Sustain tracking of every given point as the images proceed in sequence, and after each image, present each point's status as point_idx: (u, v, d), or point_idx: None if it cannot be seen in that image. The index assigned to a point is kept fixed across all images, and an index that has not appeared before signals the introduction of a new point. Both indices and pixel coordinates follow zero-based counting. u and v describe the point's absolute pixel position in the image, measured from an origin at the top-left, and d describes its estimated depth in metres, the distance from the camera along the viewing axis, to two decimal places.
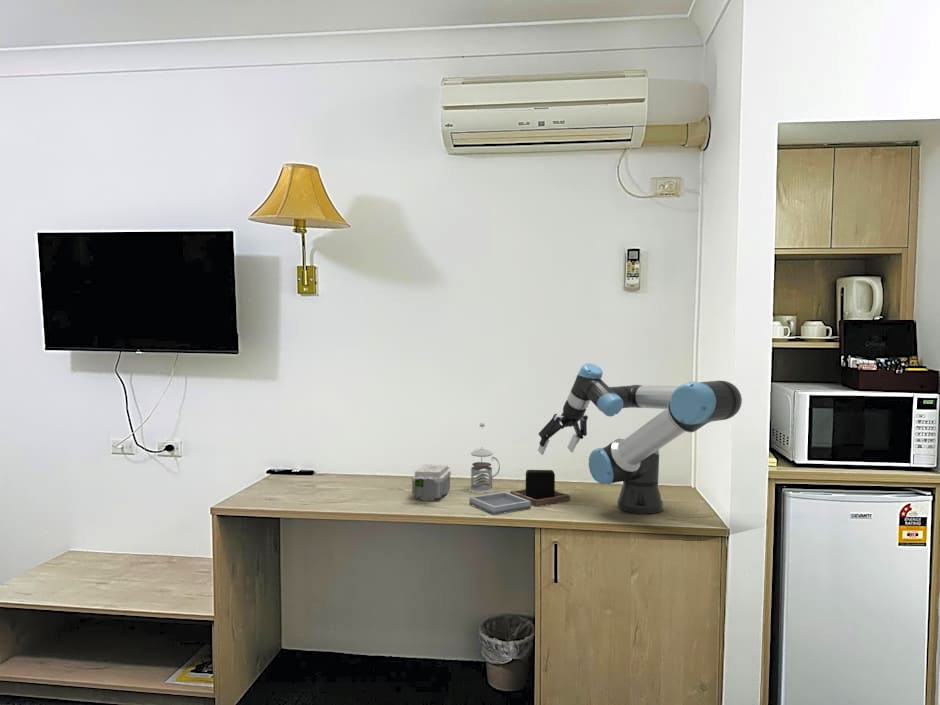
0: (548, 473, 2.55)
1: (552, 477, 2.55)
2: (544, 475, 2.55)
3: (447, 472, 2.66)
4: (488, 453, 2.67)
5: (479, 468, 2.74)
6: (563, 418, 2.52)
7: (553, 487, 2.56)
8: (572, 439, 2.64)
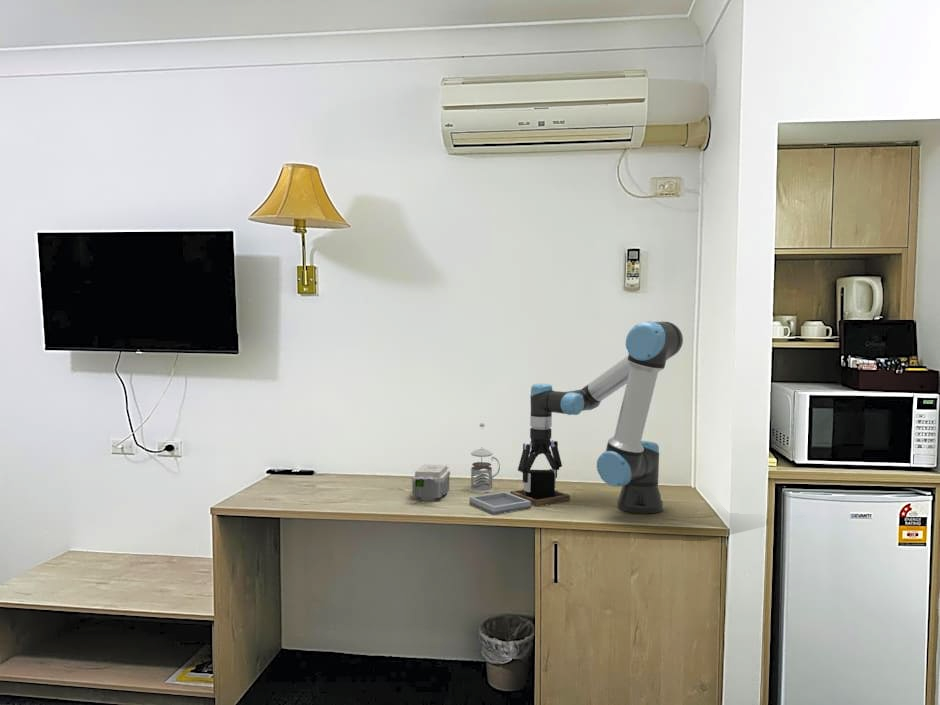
0: (548, 473, 2.55)
1: (552, 477, 2.55)
2: (544, 475, 2.55)
3: (447, 472, 2.66)
4: (488, 453, 2.67)
5: (479, 468, 2.74)
6: (533, 444, 2.54)
7: (553, 487, 2.56)
8: None
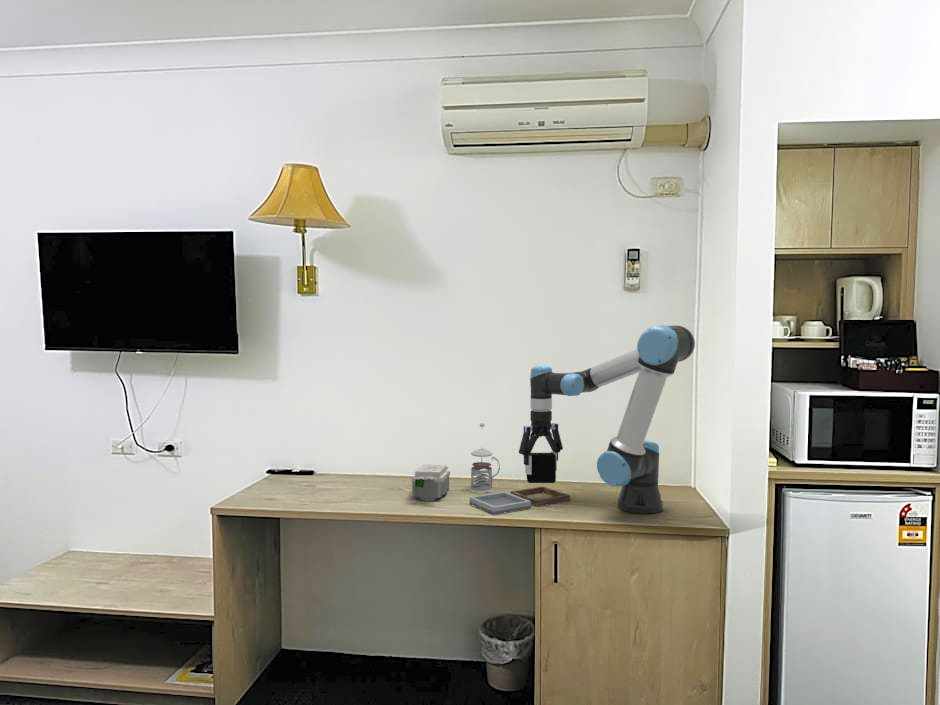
0: (549, 455, 2.55)
1: (553, 459, 2.55)
2: (545, 457, 2.55)
3: (446, 472, 2.66)
4: (488, 453, 2.67)
5: (479, 468, 2.74)
6: (533, 427, 2.54)
7: (554, 469, 2.55)
8: None
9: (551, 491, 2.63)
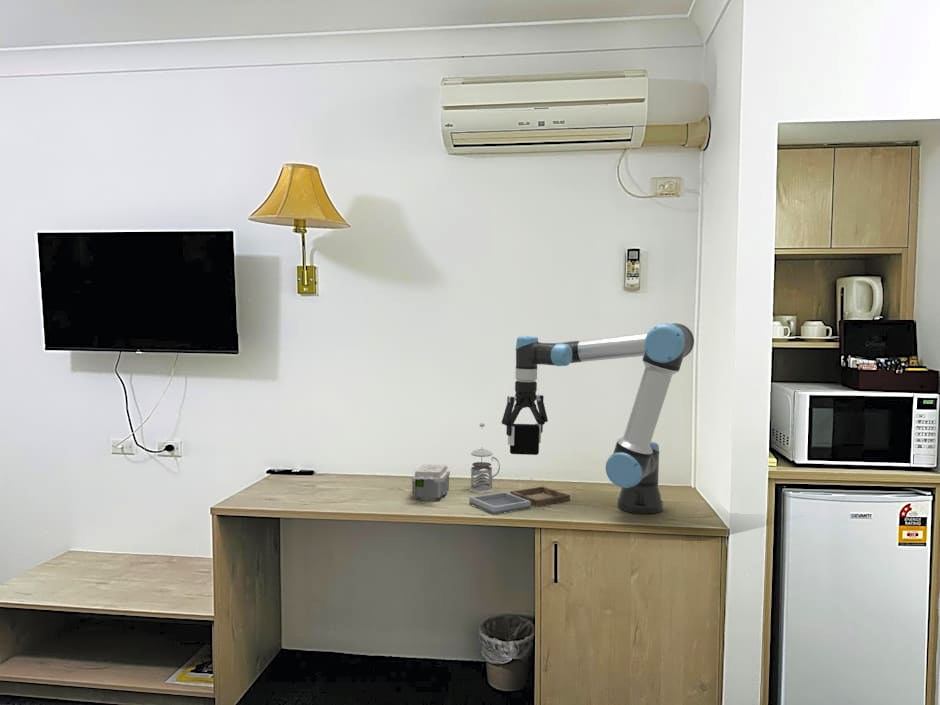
0: (533, 427, 2.51)
1: (537, 431, 2.51)
2: (529, 428, 2.51)
3: (446, 472, 2.66)
4: (488, 453, 2.67)
5: (479, 468, 2.74)
6: (517, 397, 2.49)
7: (537, 441, 2.51)
8: None
9: (551, 491, 2.63)
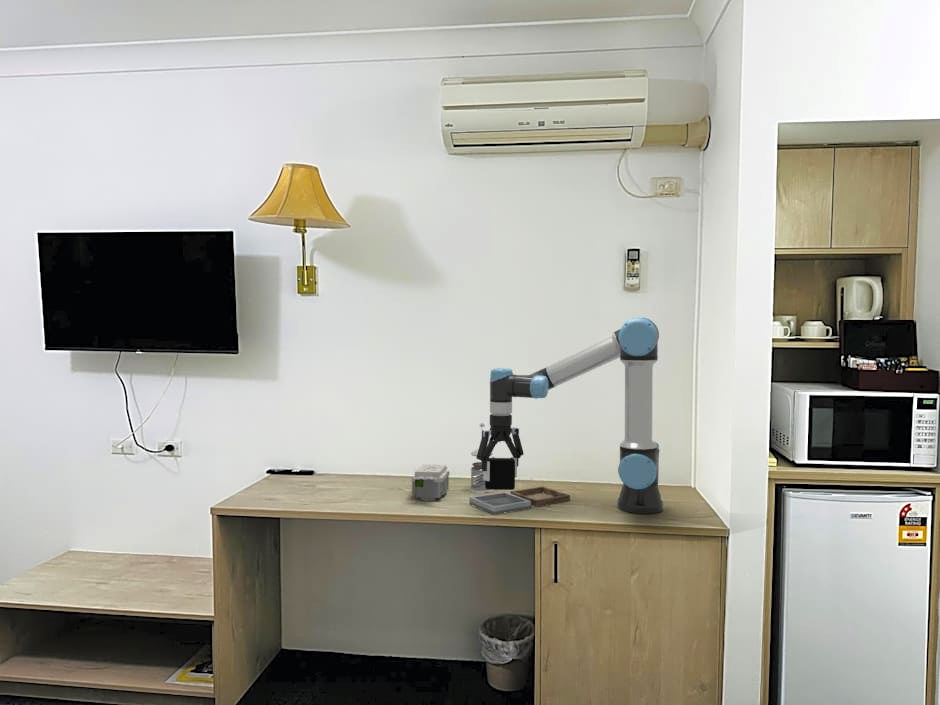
0: (508, 461, 2.45)
1: (512, 465, 2.45)
2: (504, 463, 2.45)
3: (446, 472, 2.66)
4: None
5: (479, 468, 2.74)
6: (492, 431, 2.43)
7: (513, 476, 2.45)
8: None
9: (551, 491, 2.63)
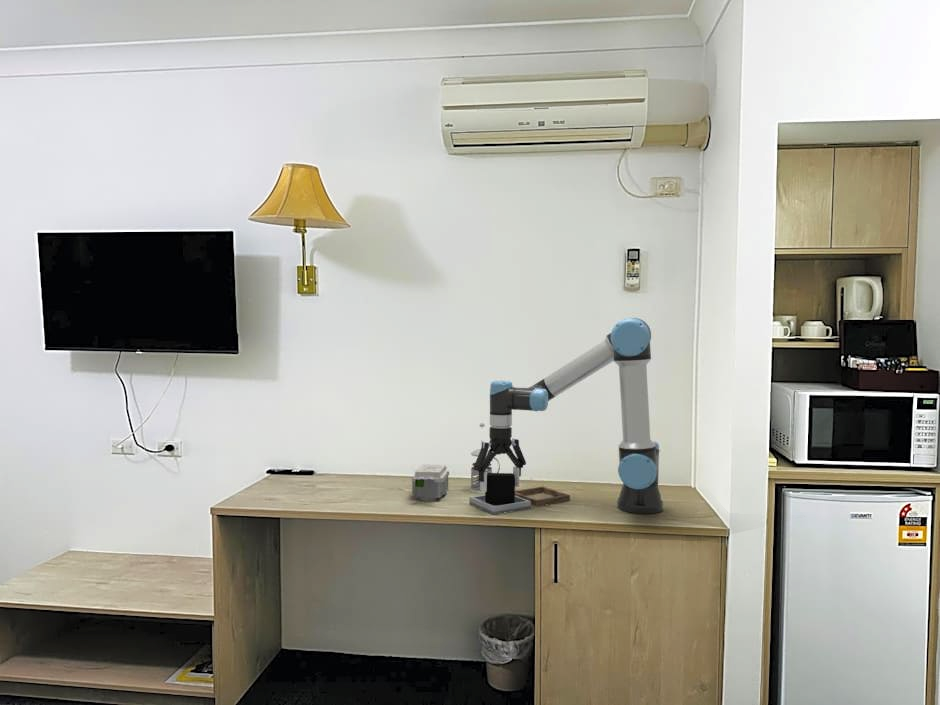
0: (508, 476, 2.45)
1: (512, 481, 2.45)
2: (504, 478, 2.45)
3: (446, 472, 2.66)
4: None
5: None
6: (492, 444, 2.44)
7: (513, 491, 2.45)
8: (514, 473, 2.51)
9: (551, 491, 2.63)
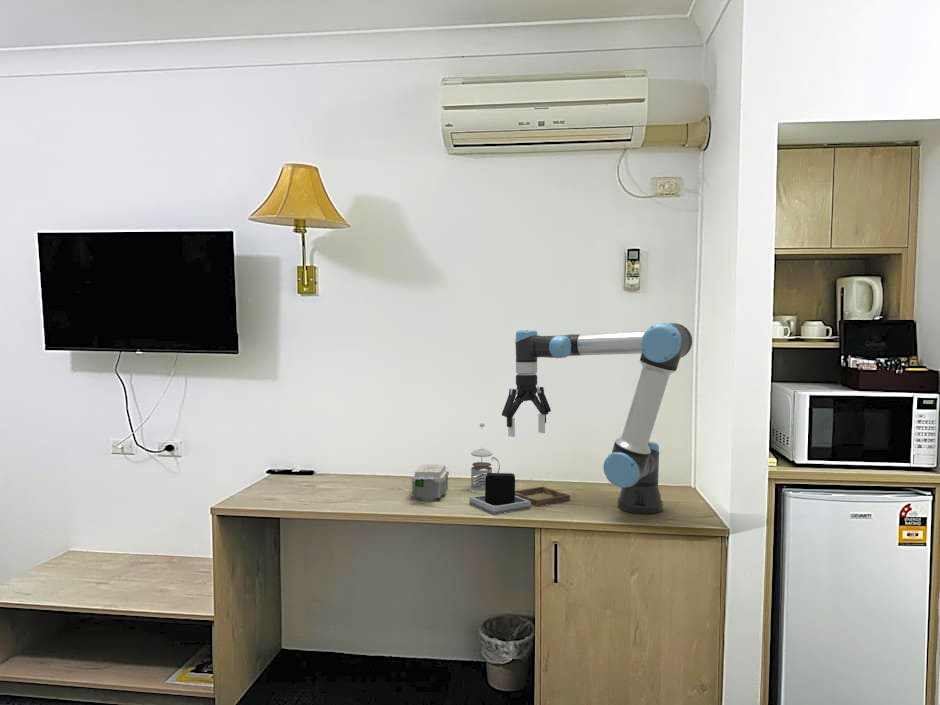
0: (508, 476, 2.45)
1: (512, 481, 2.45)
2: (504, 478, 2.45)
3: (445, 472, 2.66)
4: (488, 453, 2.67)
5: (479, 468, 2.74)
6: (519, 390, 2.51)
7: (513, 491, 2.45)
8: (539, 420, 2.58)
9: (551, 491, 2.63)
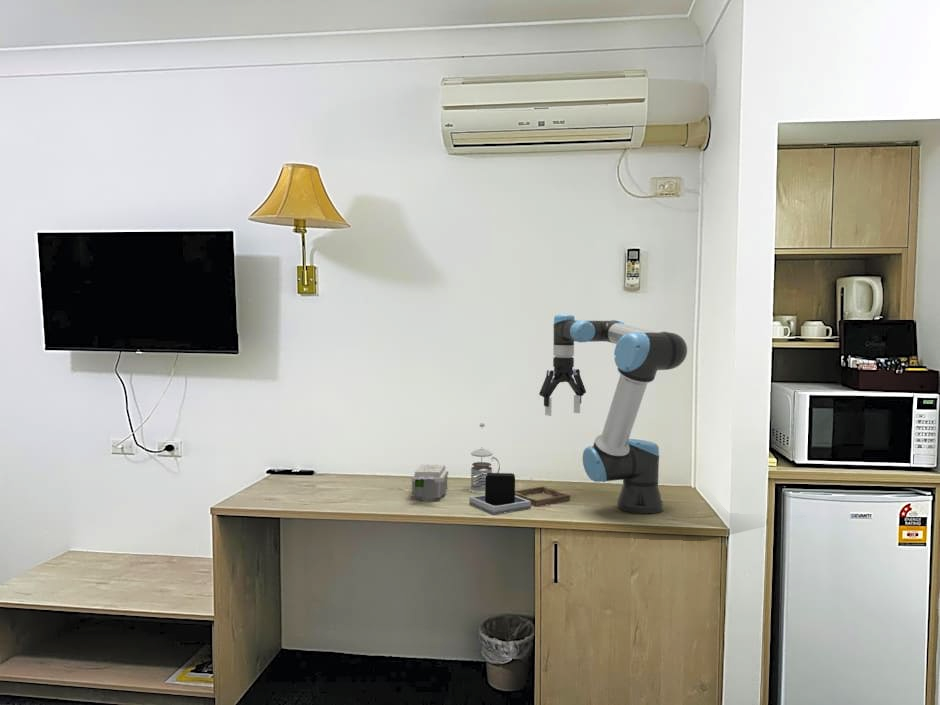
0: (508, 476, 2.45)
1: (512, 481, 2.45)
2: (504, 478, 2.45)
3: (445, 472, 2.66)
4: (488, 453, 2.67)
5: (479, 468, 2.74)
6: (556, 372, 2.64)
7: (513, 491, 2.45)
8: (575, 401, 2.72)
9: (551, 491, 2.63)
